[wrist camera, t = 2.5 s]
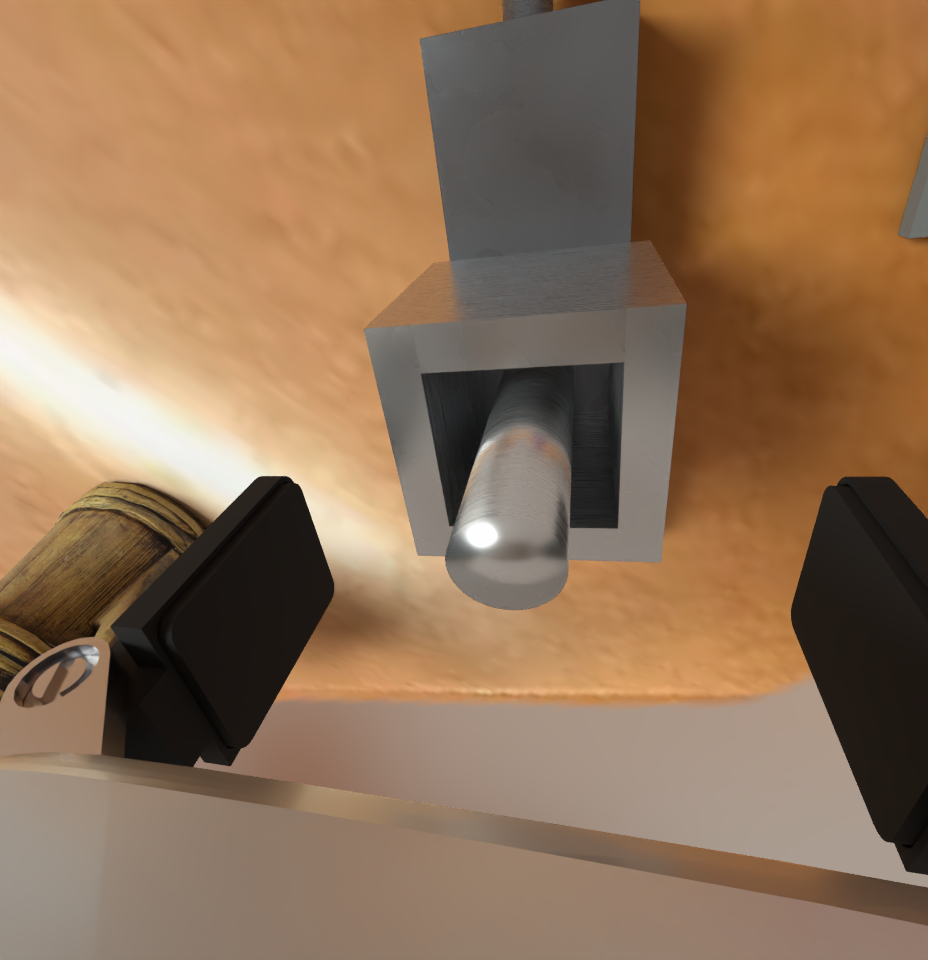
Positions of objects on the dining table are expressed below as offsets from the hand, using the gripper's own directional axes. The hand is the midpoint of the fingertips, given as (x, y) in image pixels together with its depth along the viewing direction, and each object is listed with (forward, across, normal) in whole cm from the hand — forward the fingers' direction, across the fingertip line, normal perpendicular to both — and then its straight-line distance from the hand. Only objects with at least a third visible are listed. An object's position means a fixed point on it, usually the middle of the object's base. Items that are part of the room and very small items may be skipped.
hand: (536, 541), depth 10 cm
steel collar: (+8, 0, -1) cm, 8 cm away
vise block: (+11, 0, -3) cm, 11 cm away
